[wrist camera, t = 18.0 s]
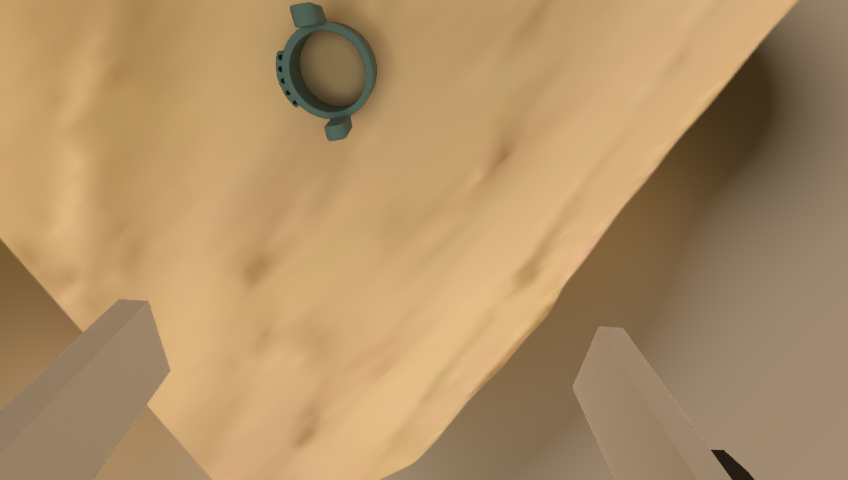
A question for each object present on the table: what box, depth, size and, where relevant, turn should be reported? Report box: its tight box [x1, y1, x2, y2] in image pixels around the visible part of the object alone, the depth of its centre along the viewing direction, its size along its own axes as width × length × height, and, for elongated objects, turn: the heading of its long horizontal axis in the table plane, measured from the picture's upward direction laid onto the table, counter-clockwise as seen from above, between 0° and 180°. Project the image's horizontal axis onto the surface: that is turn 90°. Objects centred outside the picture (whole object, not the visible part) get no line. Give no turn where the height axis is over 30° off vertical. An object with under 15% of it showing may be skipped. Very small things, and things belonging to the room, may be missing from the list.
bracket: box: [276, 2, 377, 141], centre depth 35 cm, size 9×9×9 cm
